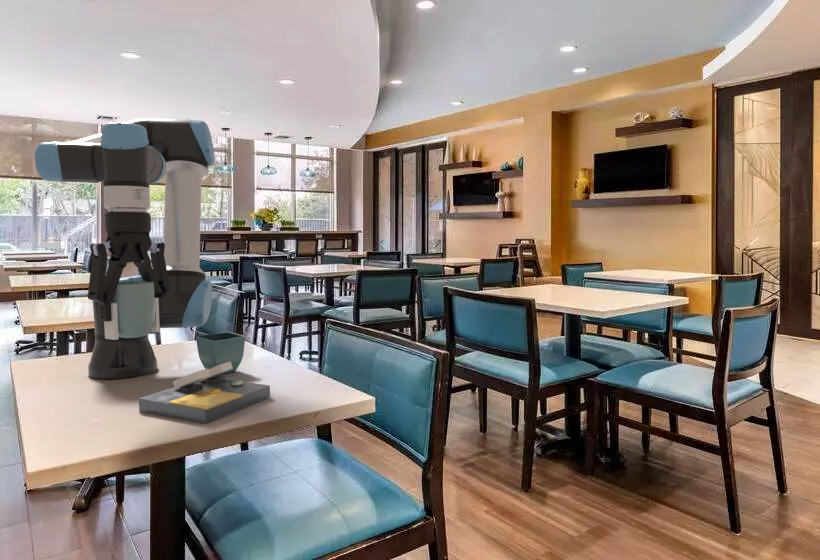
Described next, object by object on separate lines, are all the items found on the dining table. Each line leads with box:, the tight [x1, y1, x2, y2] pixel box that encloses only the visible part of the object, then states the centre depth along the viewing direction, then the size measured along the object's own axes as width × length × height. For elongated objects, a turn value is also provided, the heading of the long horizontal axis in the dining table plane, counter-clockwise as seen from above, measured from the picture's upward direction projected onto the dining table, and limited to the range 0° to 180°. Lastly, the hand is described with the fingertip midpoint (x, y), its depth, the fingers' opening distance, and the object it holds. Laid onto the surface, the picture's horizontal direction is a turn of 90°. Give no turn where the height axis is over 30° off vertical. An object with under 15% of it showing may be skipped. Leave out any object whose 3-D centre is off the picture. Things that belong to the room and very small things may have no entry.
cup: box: [112, 281, 155, 338], centre depth 107 cm, size 8×8×10 cm
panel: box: [138, 374, 271, 425], centre depth 116 cm, size 17×18×3 cm
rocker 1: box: [172, 368, 210, 389], centre depth 117 cm, size 7×3×2 cm, turn 63°
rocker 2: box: [199, 361, 233, 382], centre depth 123 cm, size 7×3×2 cm, turn 63°
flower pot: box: [195, 331, 246, 376], centre depth 141 cm, size 9×9×9 cm
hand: (133, 334), depth 107 cm, fingers closed on cup, 8 cm apart
